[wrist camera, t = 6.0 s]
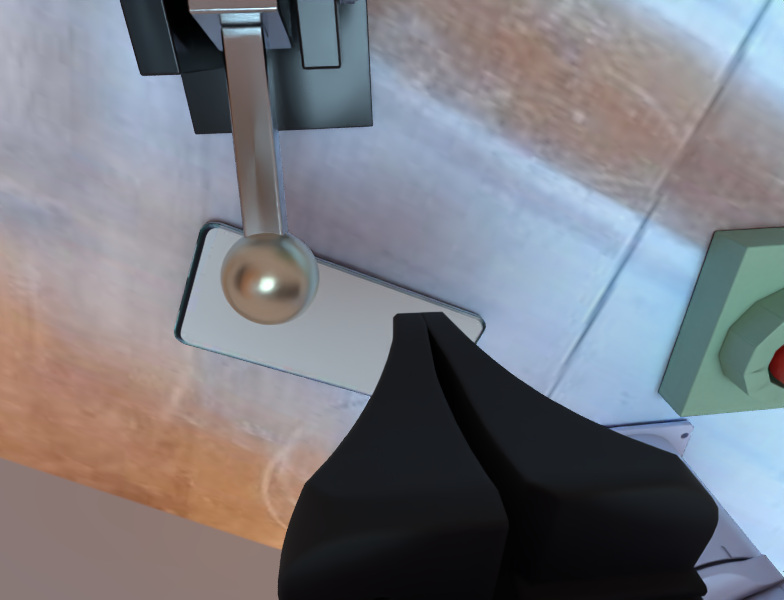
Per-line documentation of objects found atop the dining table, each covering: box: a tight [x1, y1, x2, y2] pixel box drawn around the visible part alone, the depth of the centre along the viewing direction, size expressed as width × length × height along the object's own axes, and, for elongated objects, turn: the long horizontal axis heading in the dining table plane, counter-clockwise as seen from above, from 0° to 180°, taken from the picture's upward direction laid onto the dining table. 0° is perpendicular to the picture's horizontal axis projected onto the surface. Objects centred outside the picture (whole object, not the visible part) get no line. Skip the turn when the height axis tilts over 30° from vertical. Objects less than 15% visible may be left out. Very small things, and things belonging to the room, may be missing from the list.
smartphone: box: [174, 222, 486, 396], centre depth 23 cm, size 7×1×15 cm
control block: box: [659, 227, 784, 417], centre depth 24 cm, size 11×8×4 cm
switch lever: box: [186, 0, 320, 325], centre depth 12 cm, size 11×3×3 cm, turn 1°
